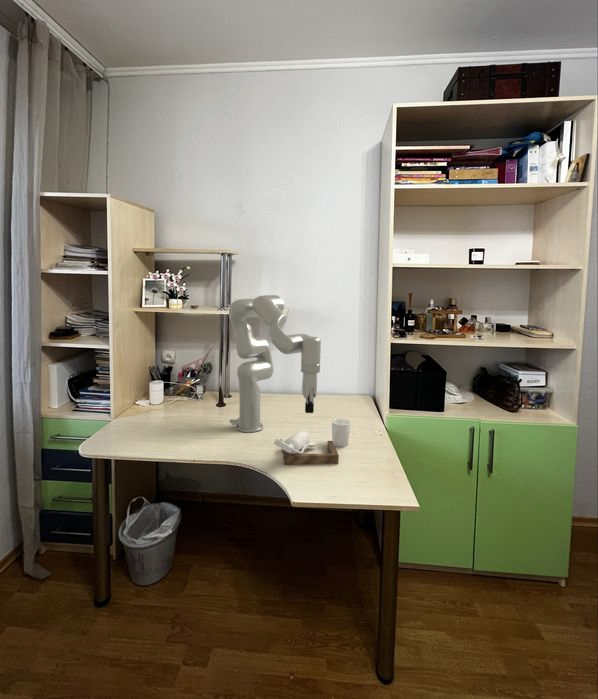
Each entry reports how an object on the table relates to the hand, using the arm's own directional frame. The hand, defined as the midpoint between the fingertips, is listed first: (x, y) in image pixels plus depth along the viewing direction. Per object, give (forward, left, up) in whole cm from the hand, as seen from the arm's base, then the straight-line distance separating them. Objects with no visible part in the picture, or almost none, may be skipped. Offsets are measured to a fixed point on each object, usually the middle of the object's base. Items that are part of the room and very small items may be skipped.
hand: (309, 412), depth 185 cm
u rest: (0, -4, -17) cm, 18 cm away
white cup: (+15, +9, -17) cm, 25 cm away
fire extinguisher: (-1, +8, -14) cm, 16 cm away
